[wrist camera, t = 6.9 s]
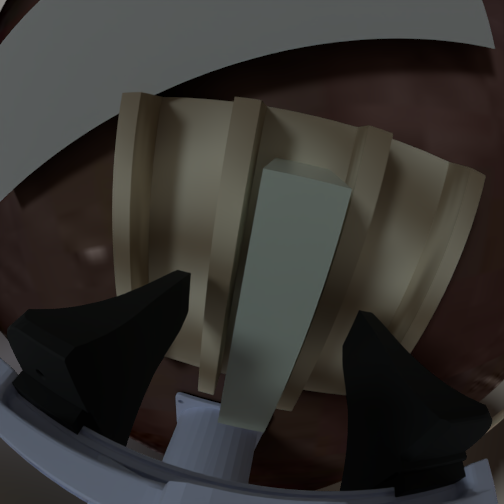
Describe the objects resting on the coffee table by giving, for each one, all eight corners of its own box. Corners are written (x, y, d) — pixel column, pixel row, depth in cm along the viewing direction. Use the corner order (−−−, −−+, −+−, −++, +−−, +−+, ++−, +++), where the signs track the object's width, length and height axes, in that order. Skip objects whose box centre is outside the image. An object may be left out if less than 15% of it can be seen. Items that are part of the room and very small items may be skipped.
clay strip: (273, 366, 16) (263, 432, 12) (236, 358, 16) (217, 422, 12) (329, 169, 11) (351, 189, 7) (275, 157, 12) (263, 168, 7)
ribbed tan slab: (363, 386, 17) (368, 418, 15) (140, 337, 19) (121, 363, 16) (460, 169, 11) (492, 179, 8) (146, 98, 12) (113, 93, 9)
